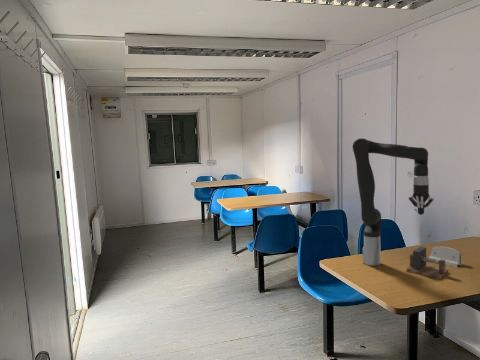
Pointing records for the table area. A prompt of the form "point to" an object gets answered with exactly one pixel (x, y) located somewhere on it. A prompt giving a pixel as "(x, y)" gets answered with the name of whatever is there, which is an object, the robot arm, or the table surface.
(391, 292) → the table surface
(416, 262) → the collar
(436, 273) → the pipe stand
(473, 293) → the table surface
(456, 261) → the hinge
